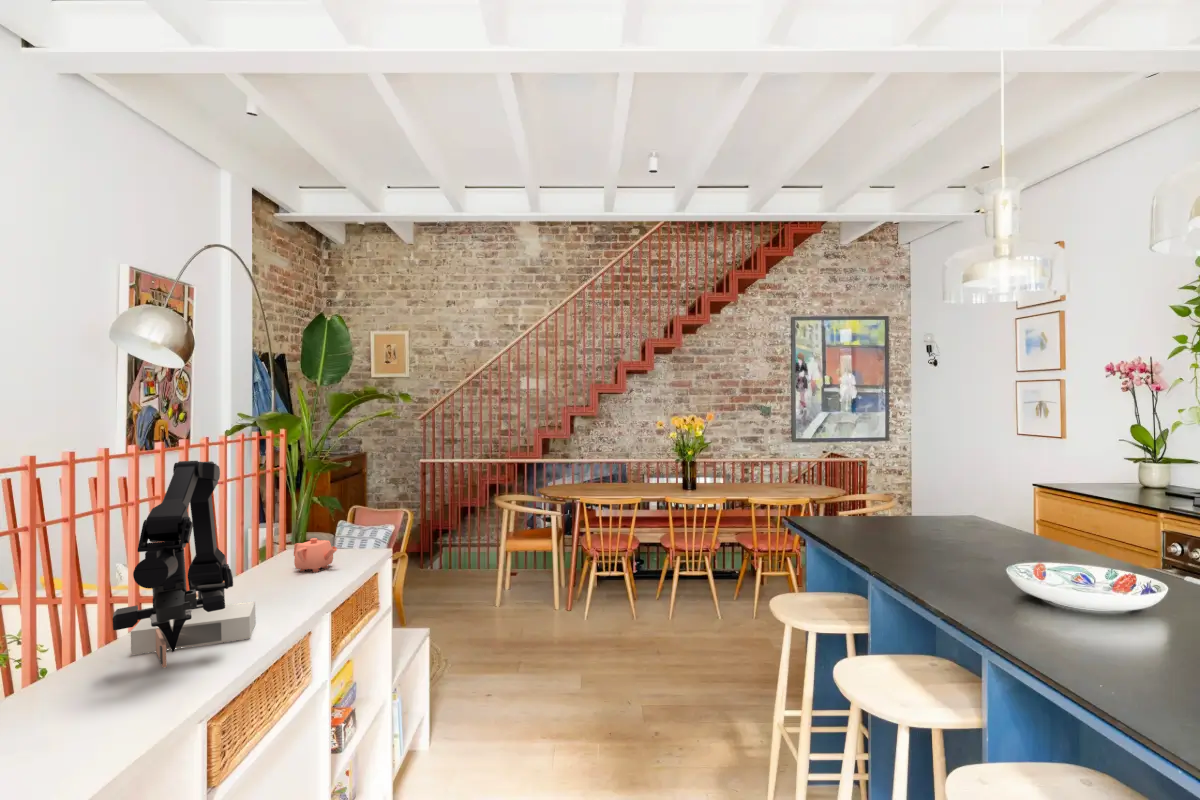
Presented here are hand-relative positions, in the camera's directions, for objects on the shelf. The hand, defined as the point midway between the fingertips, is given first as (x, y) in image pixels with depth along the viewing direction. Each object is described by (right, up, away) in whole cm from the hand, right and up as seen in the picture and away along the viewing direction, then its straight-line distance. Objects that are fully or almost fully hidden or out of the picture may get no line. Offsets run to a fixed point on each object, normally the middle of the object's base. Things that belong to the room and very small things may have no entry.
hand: (173, 651), depth 133 cm
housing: (-4, -2, +14) cm, 15 cm away
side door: (-3, -2, +1) cm, 4 cm away
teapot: (-3, -3, +74) cm, 74 cm away
